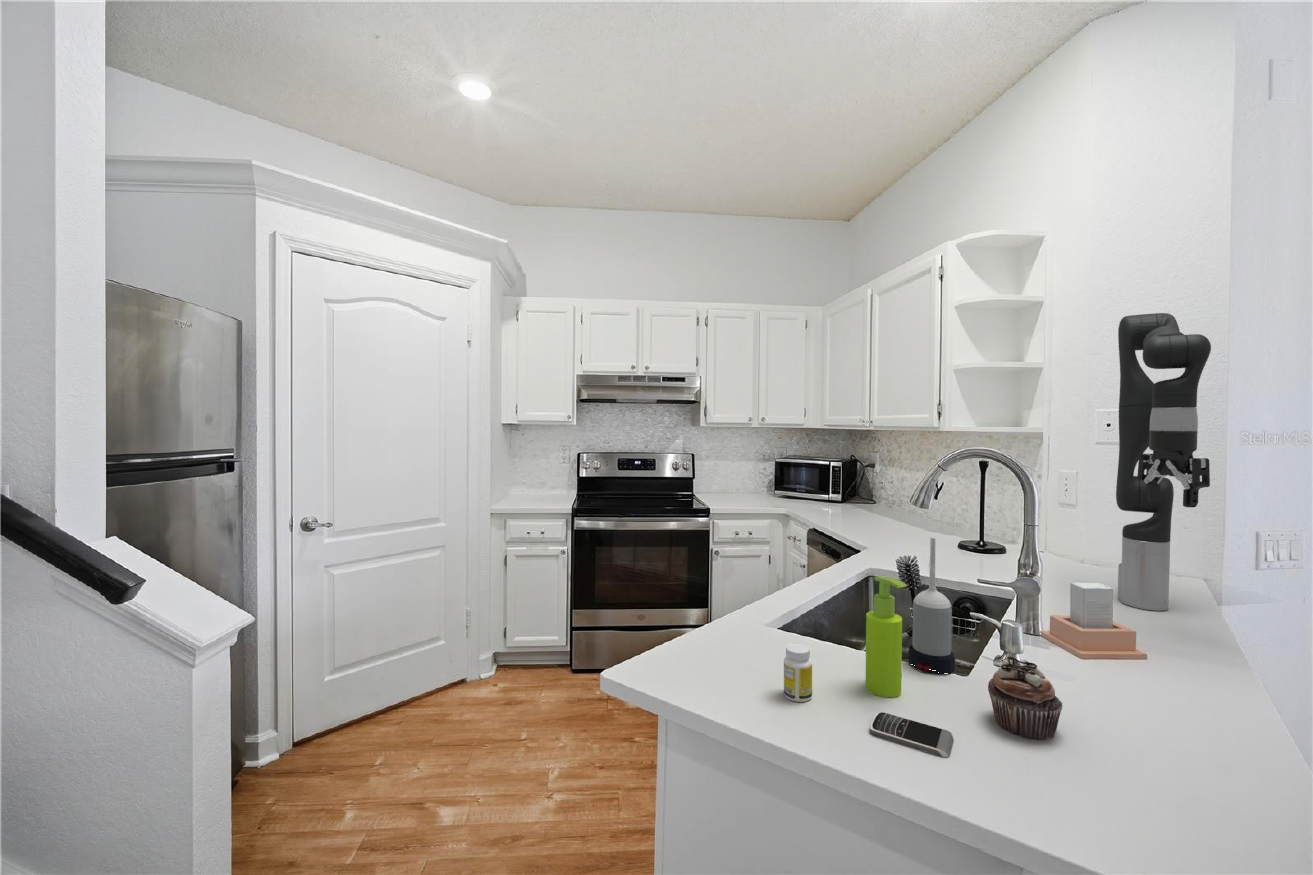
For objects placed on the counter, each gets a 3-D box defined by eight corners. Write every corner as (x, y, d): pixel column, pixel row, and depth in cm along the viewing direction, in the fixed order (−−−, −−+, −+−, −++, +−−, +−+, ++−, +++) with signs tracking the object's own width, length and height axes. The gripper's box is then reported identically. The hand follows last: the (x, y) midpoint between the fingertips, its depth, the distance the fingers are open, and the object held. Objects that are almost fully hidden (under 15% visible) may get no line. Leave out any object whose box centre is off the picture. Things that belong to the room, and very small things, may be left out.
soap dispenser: (890, 703, 92) (892, 585, 92) (858, 685, 98) (859, 575, 98) (913, 695, 95) (915, 581, 94) (881, 678, 101) (882, 571, 101)
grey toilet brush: (915, 673, 103) (917, 541, 103) (903, 655, 111) (905, 532, 111) (961, 676, 102) (964, 543, 101) (946, 657, 110) (948, 534, 109)
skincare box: (1097, 637, 118) (1098, 582, 117) (1113, 645, 113) (1114, 588, 113) (1068, 637, 118) (1069, 582, 118) (1082, 645, 114) (1084, 588, 113)
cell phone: (877, 718, 88) (877, 710, 88) (954, 741, 82) (954, 732, 82) (867, 737, 83) (867, 728, 83) (949, 762, 77) (949, 752, 77)
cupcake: (1065, 751, 79) (1066, 682, 79) (986, 731, 84) (987, 666, 84) (1059, 720, 87) (1060, 658, 87) (987, 703, 92) (989, 645, 92)
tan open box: (1040, 635, 122) (1040, 613, 121) (1099, 635, 121) (1099, 613, 121) (1081, 658, 110) (1082, 634, 109) (1147, 659, 109) (1147, 634, 109)
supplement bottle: (812, 691, 96) (813, 644, 96) (811, 705, 92) (811, 655, 92) (785, 687, 98) (785, 641, 98) (782, 700, 93) (782, 651, 93)
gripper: (1224, 429, 111) (1221, 509, 111) (1160, 427, 125) (1158, 498, 126) (1186, 430, 111) (1184, 509, 111) (1127, 428, 125) (1125, 498, 126)
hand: (1170, 503), depth 118 cm, fingers open, 8 cm apart
